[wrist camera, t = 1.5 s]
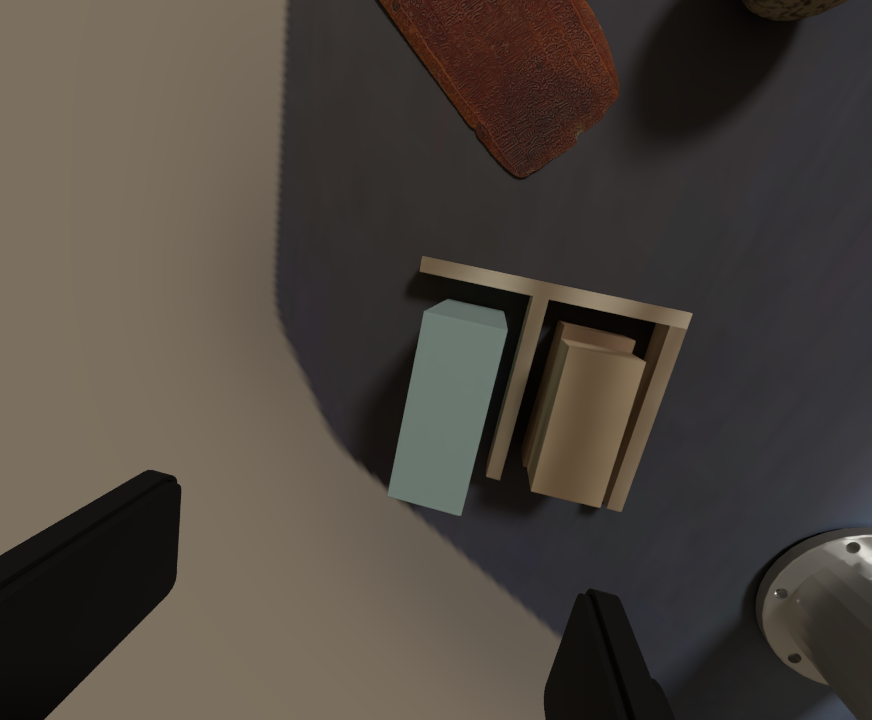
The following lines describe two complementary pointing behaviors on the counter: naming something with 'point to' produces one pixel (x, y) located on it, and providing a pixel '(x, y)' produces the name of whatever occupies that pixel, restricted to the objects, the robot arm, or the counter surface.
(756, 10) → the decorative egg
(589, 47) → the wooden tablet
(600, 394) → the offcut upper
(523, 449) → the offcut lower
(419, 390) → the tall board
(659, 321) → the rack
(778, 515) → the counter surface
